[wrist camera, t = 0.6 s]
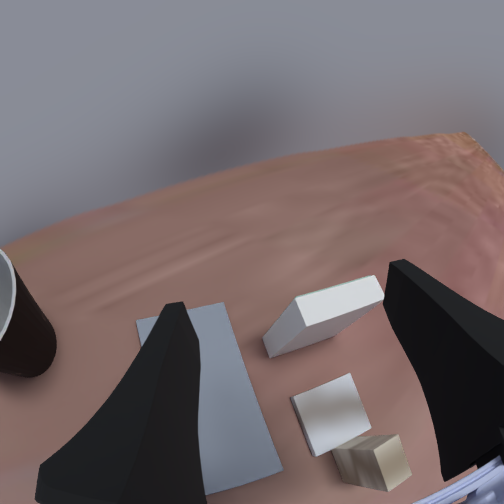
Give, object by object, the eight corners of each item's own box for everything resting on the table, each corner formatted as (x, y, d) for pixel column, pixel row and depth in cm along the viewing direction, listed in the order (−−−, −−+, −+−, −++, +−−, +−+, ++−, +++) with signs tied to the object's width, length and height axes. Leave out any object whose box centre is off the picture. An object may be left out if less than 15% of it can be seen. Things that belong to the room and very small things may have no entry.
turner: (379, 461, 21) (427, 462, 16) (326, 491, 19) (368, 504, 14) (345, 374, 26) (388, 355, 20) (290, 397, 24) (323, 386, 18)
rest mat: (281, 469, 20) (283, 470, 20) (189, 497, 17) (189, 498, 17) (222, 304, 27) (223, 301, 27) (137, 322, 25) (136, 320, 24)
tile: (334, 336, 28) (385, 298, 21) (269, 358, 26) (306, 326, 18) (326, 316, 29) (373, 273, 22) (261, 336, 27) (294, 296, 19)
